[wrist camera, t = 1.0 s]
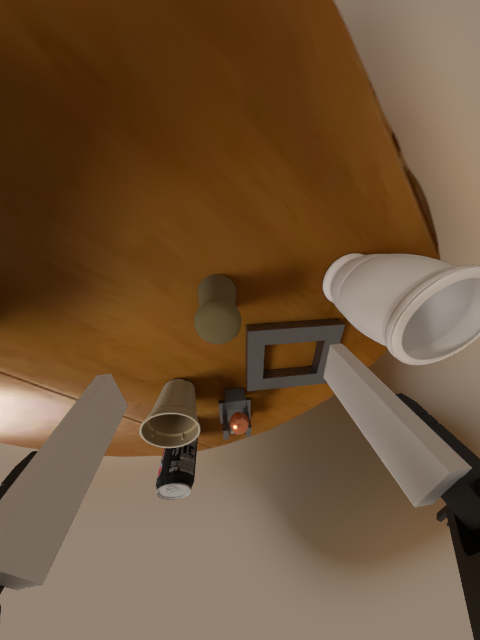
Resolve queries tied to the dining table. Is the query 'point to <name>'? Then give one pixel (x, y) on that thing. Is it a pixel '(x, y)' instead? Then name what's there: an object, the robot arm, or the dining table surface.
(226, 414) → the grey metal bracket
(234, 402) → the rest stop
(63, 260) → the dining table surface
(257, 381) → the grey rectangular frame
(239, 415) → the lever handle
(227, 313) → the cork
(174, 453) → the beverage can
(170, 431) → the flower pot
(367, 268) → the jar
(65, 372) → the dining table surface
